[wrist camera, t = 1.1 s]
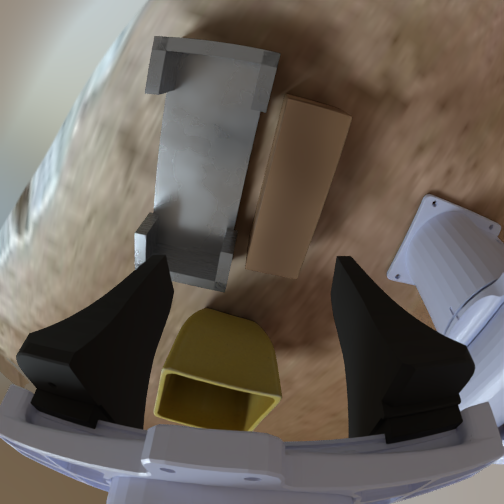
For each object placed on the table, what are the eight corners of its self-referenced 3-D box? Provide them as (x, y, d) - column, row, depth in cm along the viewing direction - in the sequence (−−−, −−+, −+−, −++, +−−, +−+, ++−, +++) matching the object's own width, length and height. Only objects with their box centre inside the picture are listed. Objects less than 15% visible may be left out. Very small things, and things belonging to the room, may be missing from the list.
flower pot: (188, 283, 26) (161, 368, 19) (283, 311, 28) (284, 399, 20) (173, 342, 31) (152, 416, 24) (252, 364, 32) (246, 438, 25)
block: (337, 107, 18) (352, 117, 15) (293, 247, 24) (296, 279, 21) (285, 93, 18) (288, 98, 14) (249, 237, 24) (244, 269, 20)
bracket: (279, 53, 16) (281, 50, 13) (230, 263, 25) (224, 294, 22) (176, 38, 16) (155, 32, 12) (151, 245, 24) (135, 274, 21)
